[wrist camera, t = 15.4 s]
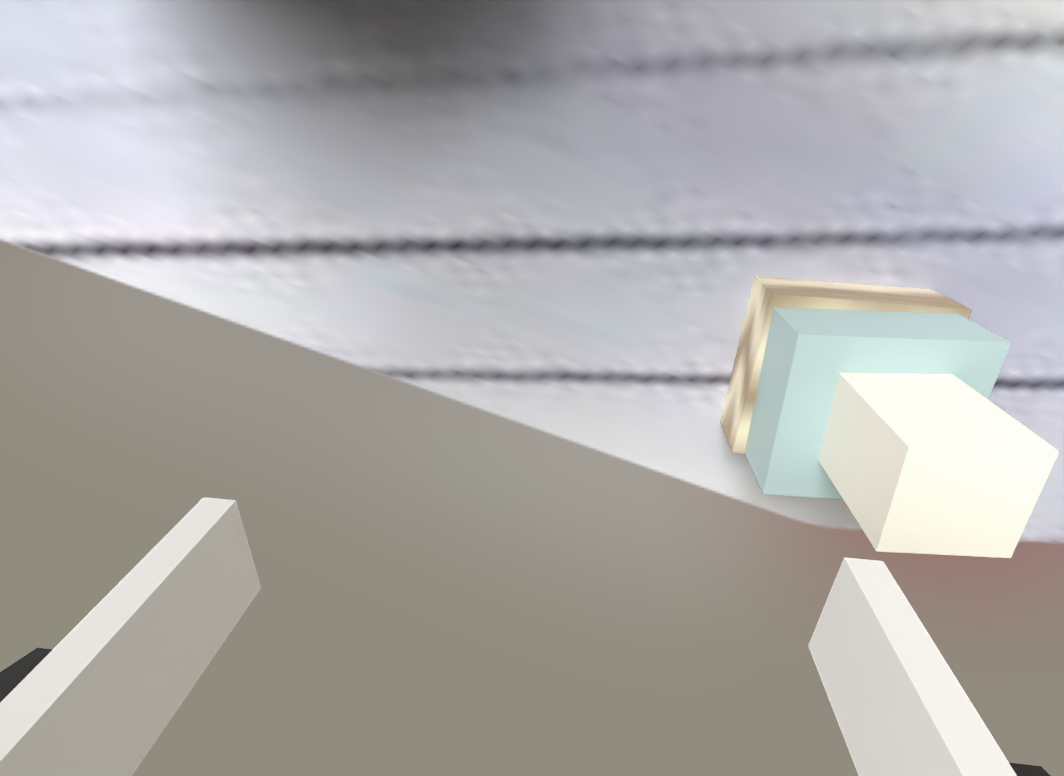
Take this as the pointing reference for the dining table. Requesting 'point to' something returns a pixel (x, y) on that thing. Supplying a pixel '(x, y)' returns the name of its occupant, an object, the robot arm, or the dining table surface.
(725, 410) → the tower base slab
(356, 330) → the dining table surface
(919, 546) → the cream block
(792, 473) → the tower top slab
